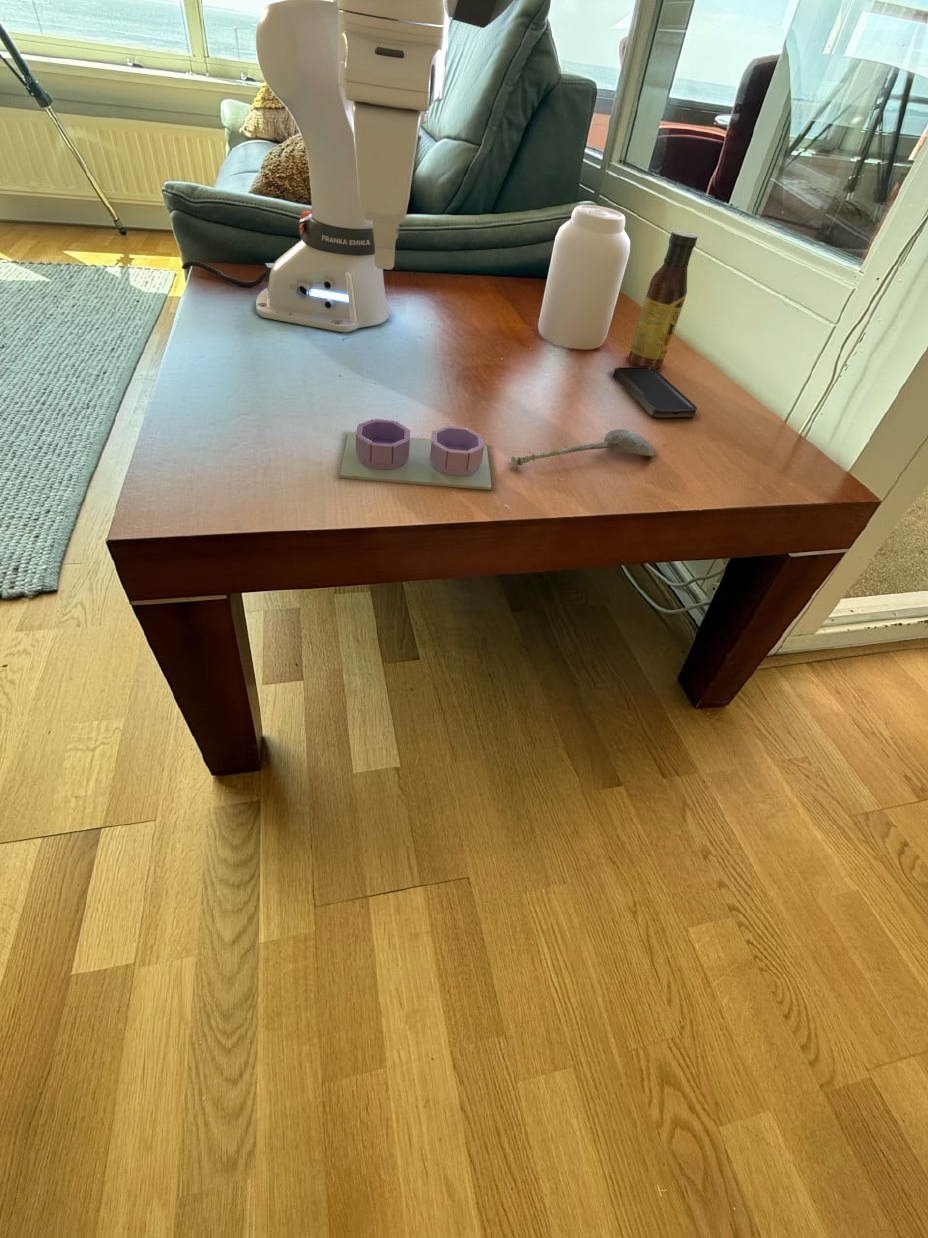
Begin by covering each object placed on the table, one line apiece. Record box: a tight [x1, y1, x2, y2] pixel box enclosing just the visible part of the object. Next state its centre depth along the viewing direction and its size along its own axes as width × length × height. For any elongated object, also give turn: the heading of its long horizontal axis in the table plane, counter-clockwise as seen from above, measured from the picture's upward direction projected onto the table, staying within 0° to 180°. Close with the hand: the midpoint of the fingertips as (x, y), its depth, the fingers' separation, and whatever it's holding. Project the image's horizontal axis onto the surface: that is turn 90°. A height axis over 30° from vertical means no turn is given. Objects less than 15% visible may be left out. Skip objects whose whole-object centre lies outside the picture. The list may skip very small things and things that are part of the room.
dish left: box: [355, 418, 411, 470], centre depth 77 cm, size 6×6×3 cm
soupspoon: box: [510, 428, 655, 470], centre depth 83 cm, size 22×3×7 cm
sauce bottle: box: [628, 230, 698, 369], centre depth 103 cm, size 7×6×20 cm
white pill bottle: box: [537, 204, 631, 350], centre depth 108 cm, size 12×12×20 cm
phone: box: [612, 366, 698, 419], centre depth 100 cm, size 8×1×15 cm
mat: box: [339, 432, 492, 491], centre depth 78 cm, size 18×10×1 cm, turn 92°
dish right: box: [429, 425, 485, 476], centre depth 78 cm, size 6×6×3 cm
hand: (387, 251), depth 62 cm, fingers open, 8 cm apart
